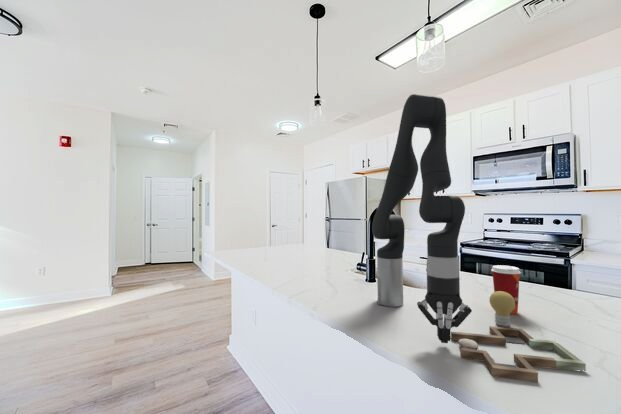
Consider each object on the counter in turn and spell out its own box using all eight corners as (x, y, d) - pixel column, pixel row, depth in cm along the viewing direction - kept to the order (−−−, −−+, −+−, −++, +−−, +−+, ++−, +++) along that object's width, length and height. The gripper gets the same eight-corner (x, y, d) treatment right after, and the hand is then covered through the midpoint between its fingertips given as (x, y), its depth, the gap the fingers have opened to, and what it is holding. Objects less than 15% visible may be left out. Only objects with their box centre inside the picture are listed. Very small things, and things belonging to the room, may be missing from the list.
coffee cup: (527, 316, 88) (526, 270, 88) (498, 315, 90) (497, 269, 90) (513, 307, 96) (512, 265, 96) (487, 306, 98) (486, 264, 98)
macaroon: (455, 348, 69) (455, 338, 69) (466, 343, 71) (466, 333, 71) (472, 356, 65) (472, 345, 65) (484, 350, 68) (483, 340, 68)
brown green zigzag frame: (470, 373, 58) (470, 365, 58) (445, 328, 80) (445, 322, 80) (609, 391, 52) (609, 381, 52) (541, 337, 74) (541, 330, 74)
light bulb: (517, 331, 78) (516, 296, 78) (490, 326, 81) (489, 292, 81) (514, 323, 83) (513, 290, 83) (489, 319, 86) (488, 287, 86)
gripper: (416, 275, 68) (418, 345, 68) (476, 278, 64) (478, 352, 64) (413, 269, 75) (414, 332, 75) (467, 271, 72) (468, 337, 71)
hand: (444, 341), depth 69 cm, fingers closed
